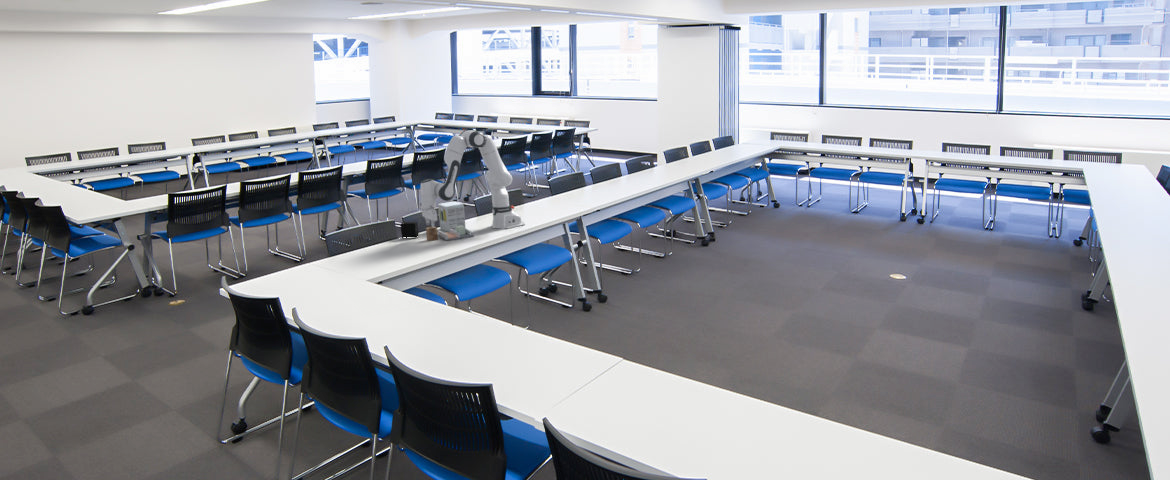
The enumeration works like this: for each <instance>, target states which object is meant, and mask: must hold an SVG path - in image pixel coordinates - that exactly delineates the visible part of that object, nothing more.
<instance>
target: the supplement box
mask: <svg viewBox="0 0 1170 480" xmlns="http://www.w3.org/2000/svg"><path fill="white" fill-rule="evenodd" d="M437 205H438V206H437V207H438V220H439V229H440V230H443V231H445V232H446V233H448V232H450V229H453V230H455V231H456V226H459V225H462V226H464V227H465V228H466V229H467V227H466V217H465V215H466V214H465V208H464V207H465V204H464V203H462V202H459V201H456V200H455V201H454V200H453V201H448V202H447V201H446V202H442V203H438V204H437Z"/></svg>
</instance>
